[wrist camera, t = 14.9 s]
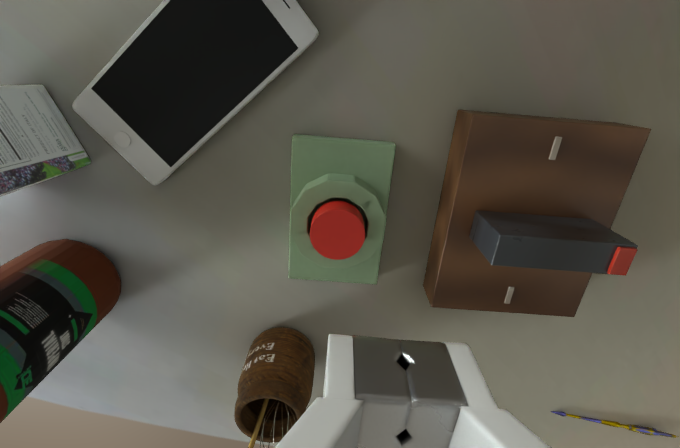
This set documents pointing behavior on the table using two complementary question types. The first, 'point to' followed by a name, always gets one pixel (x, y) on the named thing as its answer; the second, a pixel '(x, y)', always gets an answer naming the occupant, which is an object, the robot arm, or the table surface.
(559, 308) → the brown lever switch
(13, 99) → the syrup box
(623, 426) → the pen
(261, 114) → the table surface
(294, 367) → the utensil holder
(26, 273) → the bottle
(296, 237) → the button block
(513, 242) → the tap lever
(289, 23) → the smartphone
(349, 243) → the button
